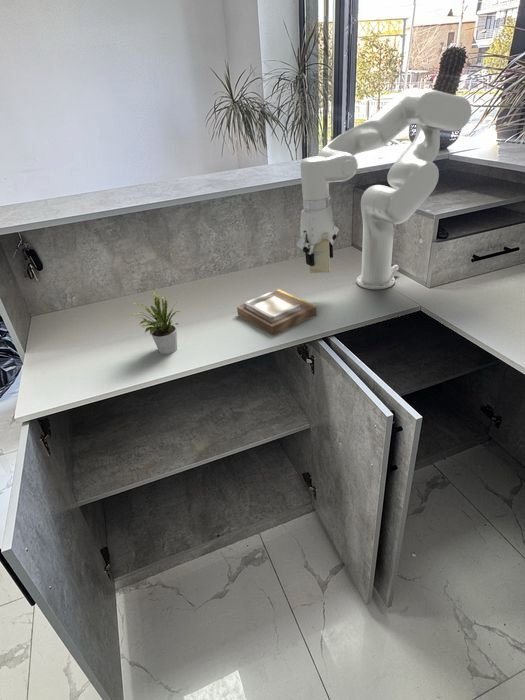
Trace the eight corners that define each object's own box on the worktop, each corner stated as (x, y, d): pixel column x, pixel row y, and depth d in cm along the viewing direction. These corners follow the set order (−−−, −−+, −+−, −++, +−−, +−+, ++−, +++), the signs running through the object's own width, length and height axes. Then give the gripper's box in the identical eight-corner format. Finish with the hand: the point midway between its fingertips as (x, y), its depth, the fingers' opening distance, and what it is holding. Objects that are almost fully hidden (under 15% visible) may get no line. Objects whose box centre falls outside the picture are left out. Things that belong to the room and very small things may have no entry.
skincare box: (310, 273, 136) (307, 236, 130) (311, 268, 140) (308, 231, 133) (330, 272, 135) (328, 234, 128) (330, 266, 139) (328, 229, 132)
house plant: (136, 343, 128) (122, 293, 120) (182, 330, 133) (171, 281, 124) (146, 367, 117) (130, 313, 108) (195, 352, 121) (184, 299, 113)
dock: (279, 297, 146) (278, 285, 143) (316, 315, 133) (316, 302, 130) (237, 315, 138) (236, 302, 135) (272, 335, 125) (271, 322, 123)
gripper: (328, 193, 132) (331, 249, 142) (284, 209, 125) (290, 267, 134) (347, 197, 127) (348, 254, 137) (302, 213, 119) (306, 273, 129)
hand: (319, 260), depth 136 cm, fingers closed on skincare box, 7 cm apart
